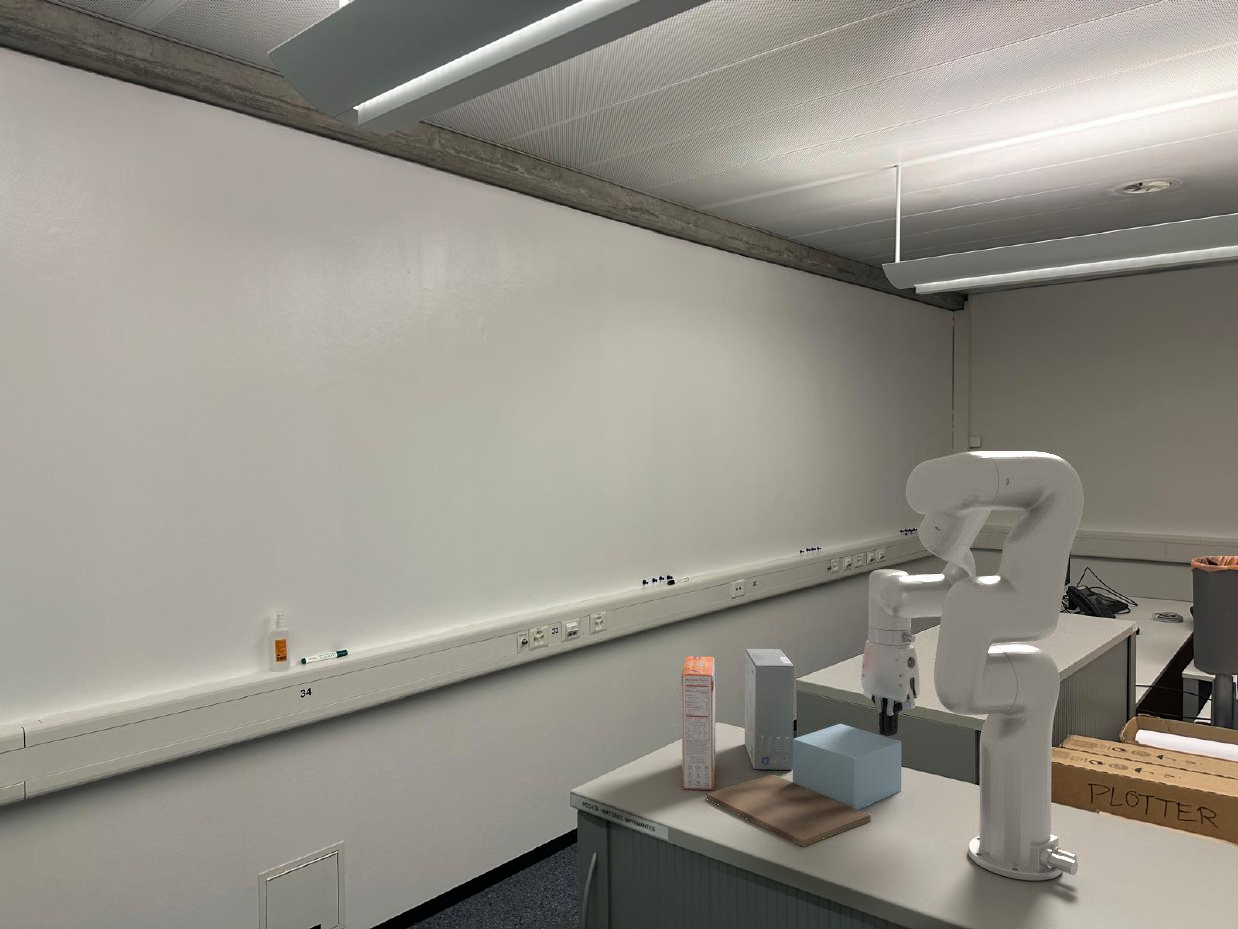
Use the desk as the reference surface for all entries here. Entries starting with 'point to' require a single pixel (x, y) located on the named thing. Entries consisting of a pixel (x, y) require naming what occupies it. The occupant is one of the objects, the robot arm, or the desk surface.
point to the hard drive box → (769, 708)
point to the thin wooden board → (789, 809)
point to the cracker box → (698, 723)
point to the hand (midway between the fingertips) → (888, 734)
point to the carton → (848, 765)
